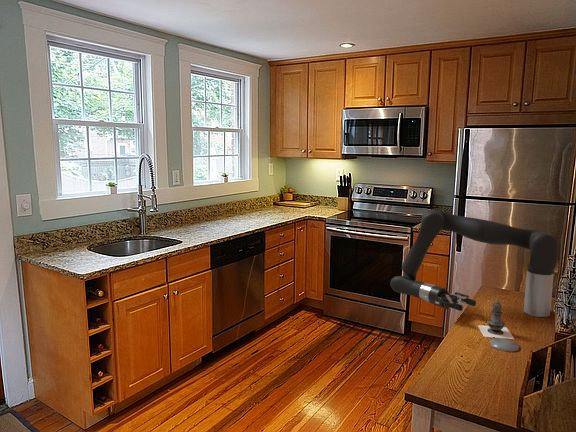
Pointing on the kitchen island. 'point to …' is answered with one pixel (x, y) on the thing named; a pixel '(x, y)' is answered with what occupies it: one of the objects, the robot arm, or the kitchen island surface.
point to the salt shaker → (496, 320)
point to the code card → (486, 334)
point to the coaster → (504, 344)
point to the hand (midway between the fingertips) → (468, 305)
